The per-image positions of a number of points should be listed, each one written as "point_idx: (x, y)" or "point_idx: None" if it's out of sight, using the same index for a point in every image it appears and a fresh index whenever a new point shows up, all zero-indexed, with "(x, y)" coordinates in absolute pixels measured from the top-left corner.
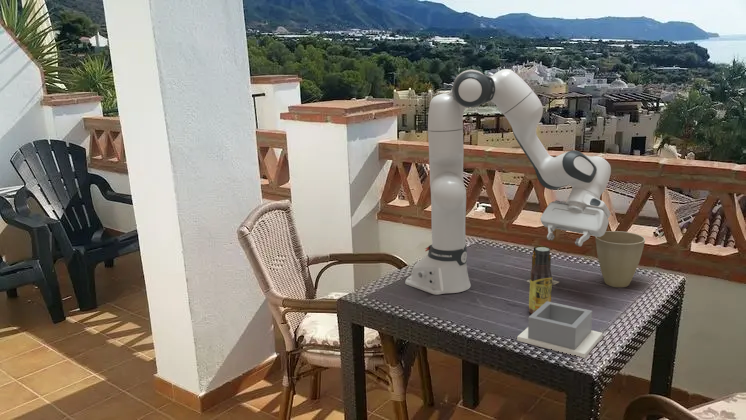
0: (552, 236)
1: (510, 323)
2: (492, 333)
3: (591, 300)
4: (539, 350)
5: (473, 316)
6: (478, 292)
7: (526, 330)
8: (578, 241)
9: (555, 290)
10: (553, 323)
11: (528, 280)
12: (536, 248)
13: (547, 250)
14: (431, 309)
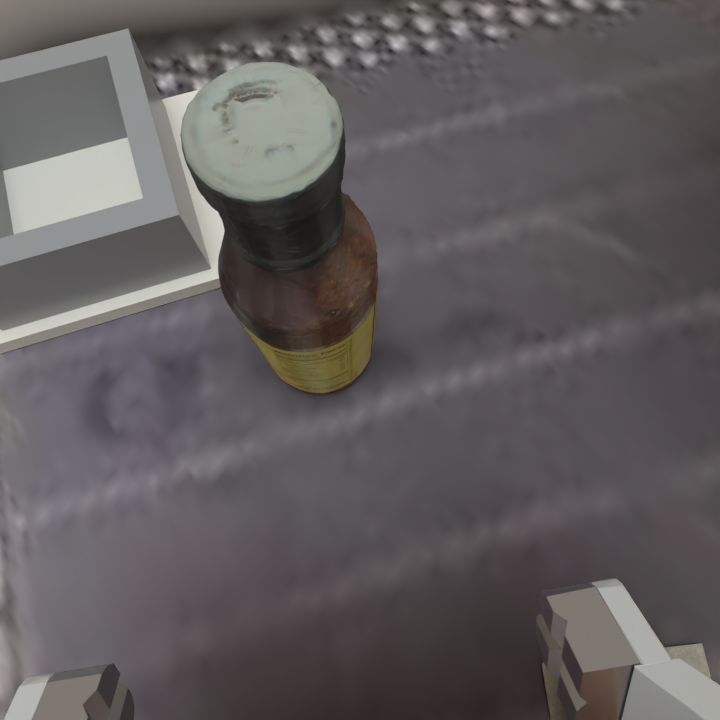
0: (562, 650)
1: None
2: None
3: (240, 714)
4: None
5: (478, 122)
6: (698, 309)
7: None
8: (37, 701)
9: (483, 672)
10: (7, 61)
11: (705, 670)
12: (318, 89)
13: (187, 127)
14: (635, 50)
